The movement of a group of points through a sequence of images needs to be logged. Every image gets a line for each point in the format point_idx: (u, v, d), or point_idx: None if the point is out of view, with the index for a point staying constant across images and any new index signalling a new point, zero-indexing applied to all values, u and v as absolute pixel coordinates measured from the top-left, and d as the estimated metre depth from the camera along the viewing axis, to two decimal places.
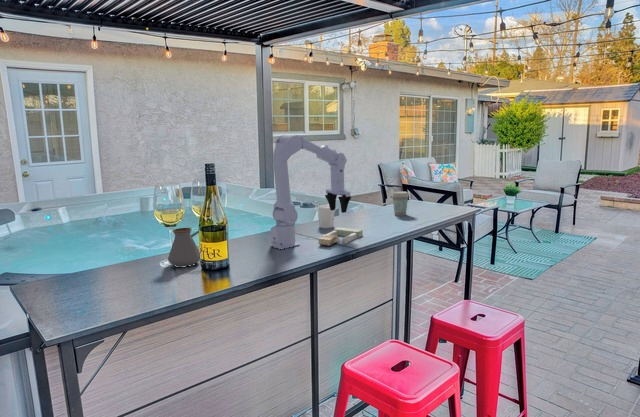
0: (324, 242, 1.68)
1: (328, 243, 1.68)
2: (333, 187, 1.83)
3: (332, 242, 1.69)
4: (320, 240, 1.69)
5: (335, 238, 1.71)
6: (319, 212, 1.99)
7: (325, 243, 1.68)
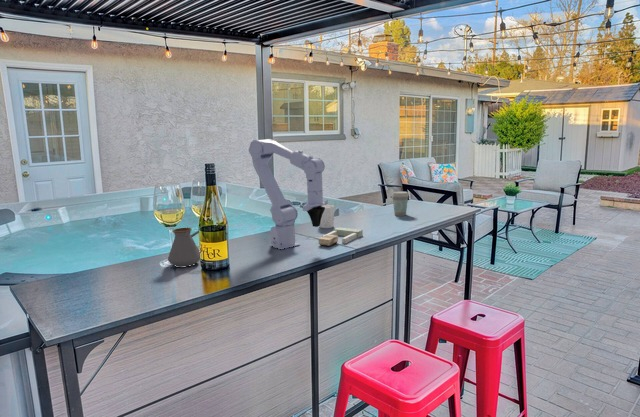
0: (324, 242, 1.68)
1: (328, 243, 1.68)
2: None
3: (332, 242, 1.69)
4: (320, 240, 1.69)
5: (335, 238, 1.71)
6: None
7: (325, 243, 1.68)
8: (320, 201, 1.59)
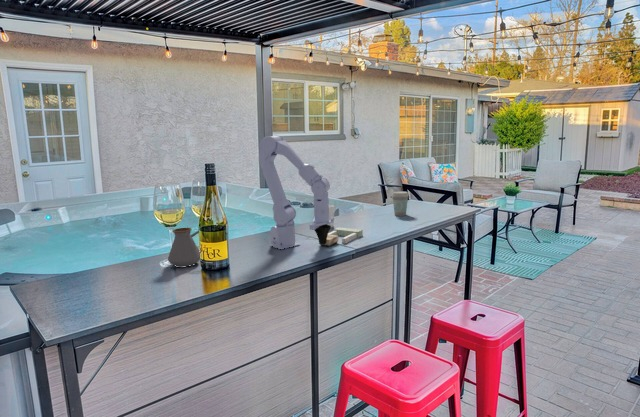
0: None
1: (328, 243, 1.68)
2: None
3: (332, 242, 1.70)
4: None
5: (335, 238, 1.71)
6: None
7: None
8: (326, 220, 1.64)
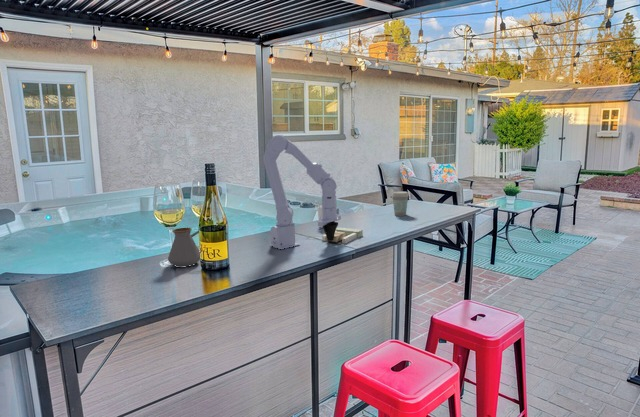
0: None
1: (336, 239, 1.73)
2: None
3: (339, 238, 1.74)
4: None
5: (342, 235, 1.76)
6: (319, 212, 1.99)
7: (333, 239, 1.73)
8: (334, 217, 1.69)
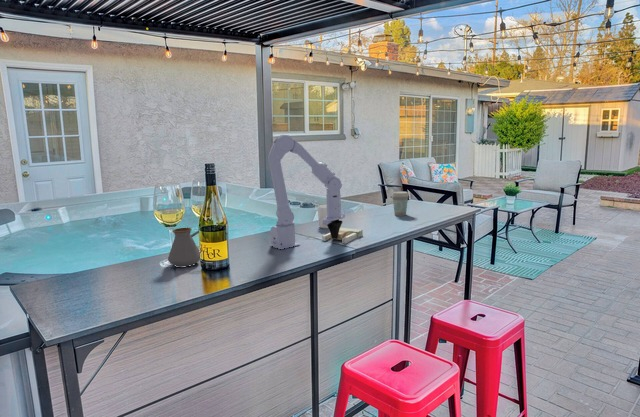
0: None
1: (340, 237, 1.76)
2: None
3: (344, 236, 1.77)
4: None
5: (346, 233, 1.79)
6: (319, 212, 1.99)
7: None
8: (338, 215, 1.72)
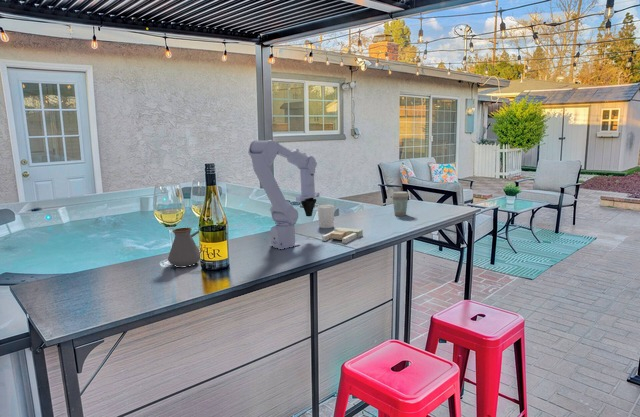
0: (336, 236, 1.76)
1: (340, 237, 1.76)
2: None
3: (344, 236, 1.77)
4: (332, 235, 1.77)
5: (346, 233, 1.79)
6: (319, 212, 1.99)
7: (337, 237, 1.76)
8: (312, 193, 1.78)
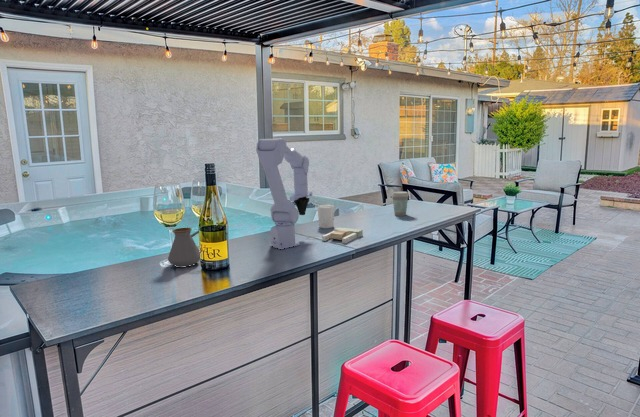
0: (336, 236, 1.76)
1: (340, 237, 1.76)
2: None
3: (344, 236, 1.77)
4: (332, 235, 1.77)
5: (346, 233, 1.79)
6: (319, 212, 1.99)
7: (337, 237, 1.76)
8: (305, 192, 1.82)
